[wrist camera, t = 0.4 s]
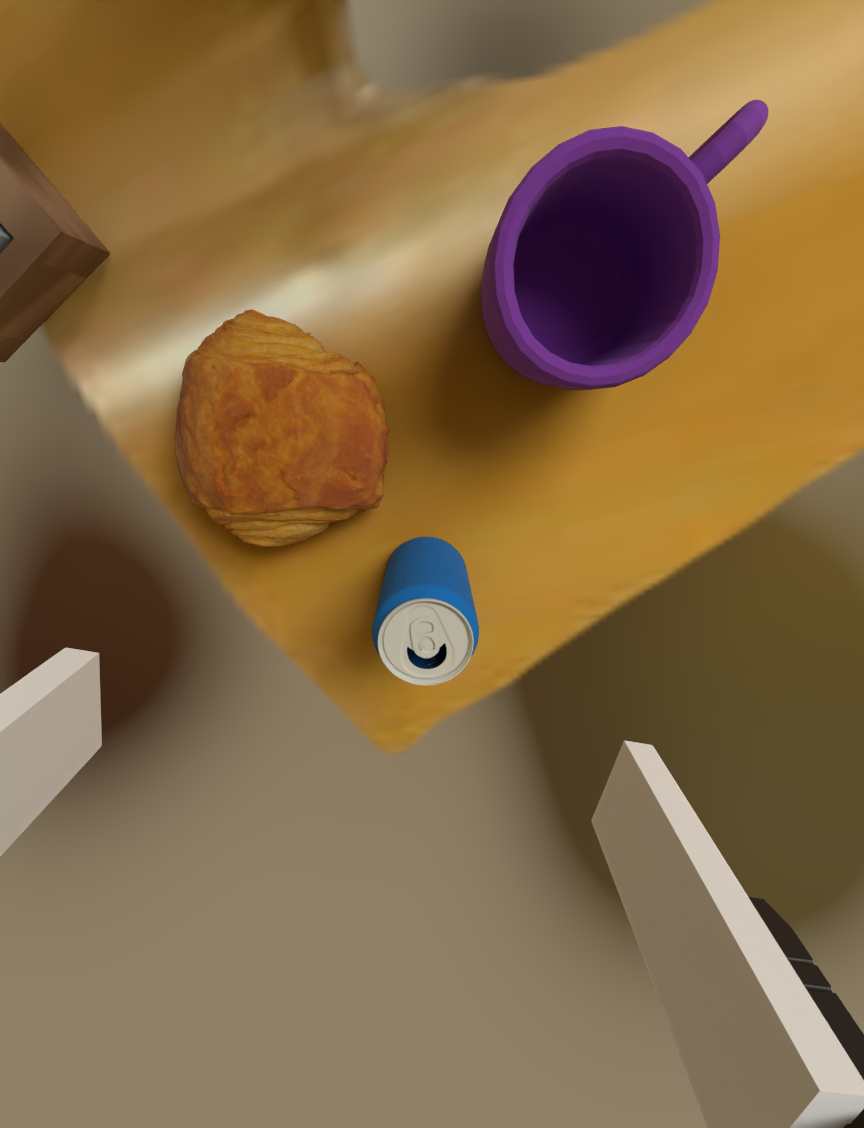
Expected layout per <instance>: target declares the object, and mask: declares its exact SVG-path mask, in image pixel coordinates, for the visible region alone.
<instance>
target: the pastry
mask: <svg viewBox="0 0 864 1128" xmlns="http://www.w3.org/2000/svg"><path fill="white" fill-rule="evenodd" d="M182 375H183V381H182V388H181V393H180V400H179V404H178V408H177V421H176V435H175V444H176V448H175V453H176V457H177V461H178V465H179V470H180V474H181V478H182V481H183V483H184V485H185V488H186V490H187V493H188V495H189V498H190V500H191V503H192V504H193V505H199V507H201V508H202V509H206V511H207V513H208V514H209V516H210V518H211V520H213V521H214V522H215V523H217V524H220V525H222V526H223V527H225V528H226V529H229V530H230V533H231V534H233V535H235V536H238V537H239V538H240V539H241V540H242V541H243V542H244V543H247V544H251V545H253V546H260V547H276V546H284V545H291V544H294V543H297V542H303V541H305V540H308V539H309V538H310V537H312V536H315V535H316V534H318V533H320V532H323V531H325V530H326V529H327V528H328V527H329V524H330V523H332V522H337V521H341V520H342V519H349V518H351V517H352V516H354V515H355V514H356V513H358V512H359V511H360V510H363V511H365V509H371V508H377V507H378V506H379V503H380V500H381V499H382V498H383V496H384V495H383V494H384V469H385V466H386V463H387V455H388V452H389V448H388V439H387V435H388V432H389V429H390V428H389V427H388V426H387V424H386V418H385V410H384V406H383V404H382V401H381V396H380V391H379V388H378V386H377V384H376V382H375V380H374V378H373V376H372V375H371V374H370V373H367V372H366V370H365V369H364V368H363V367H362V365H361V364H360V363H359V362H356V363H355V364H353V363H352V362H350V361H349V360H348V359H347V358H344V357H341V355H338V354H335V353H326V352H325V350H324V347H323V345H322V344H321V343H320V342H318V341H317V340H316V339H315V338H314V337H313V336H310V333H306V334H305V333H304V332H303V331H302V330H301V329H300V328H299V327H297V326H296V325H295V324H292V323H289V322H286V321H284V320H282V319H279V318H274V317H268V316H265V315H263V314H261V313H259V312H257V311H254V310H247V311H245V312H244V313H242V314H238V315H237V316H236V317H235V318H234V319H230V320H227V321H225V322H224V323H223V325H222V326H220V327H219V328H217V329H216V331H215V332H214V333H212V334H211V335H209V336H208V337H206V338H205V339H204V341H203V342H202V344H201V345H200V346H199V347H198V350H195V351H194V352H192V353H191V354H190V355H189V356H188V358H187V359H186V362H185V366H184V369H183V373H182Z"/></svg>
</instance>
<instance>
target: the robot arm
mask: <svg viewBox="0 0 864 1128" xmlns="http://www.w3.org/2000/svg"><path fill="white" fill-rule="evenodd" d="M101 738H102V736H101V703H100V671H99V653H95V652H89V651H84V650H77V649H72V648H64V649H63V650H61V651H60V652H59V653H57V654H56V655H54V656H53V657H52V658H50V659H49V660H47V661H46V662H45V663H43V664H42V665H40V666H39V667H37V668H36V669H35V670H33V671H32V672H30V673H29V674H28V675H26V676H25V677H23V678H22V679H21V680H19V681H18V682H16V683H15V684H14V685H12V686H11V687H10V688H8V689H7V690H5V691H4V692H2V693H1V694H0V856H1V855H2V854H3V853H4V852H5V851H6V850H7V849H8V848H9V846H11V844H12V843H13V842H14V841H15V840H16V839H17V838H18V837H19V836H20V834H21V833H22V832H23V831H24V830H25V829H26V828H27V827H28V826H29V825H30V824H31V823H32V822H33V820H34V819H35V818H36V817H37V816H38V815H39V814H40V813H41V812H42V811H43V810H44V808H45V807H46V806H47V805H48V804H49V803H50V802H51V801H52V800H53V799H54V798H55V796H56V795H57V794H58V793H59V792H60V791H61V790H62V789H63V788H64V787H65V786H66V784H67V783H68V782H69V781H70V780H71V779H72V778H73V777H74V776H75V775H76V773H77V772H78V771H79V770H80V769H81V768H82V767H83V766H84V765H85V764H86V763H87V761H88V760H89V759H90V758H91V757H92V756H93V755H94V754H95V752H97V751H98V750H99V748H100V747H101V746H102V739H101ZM592 824H593V826H594V829H595V832H596V834H597V837H598V840H599V842H600V844H601V847H602V850H603V853H604V855H605V858H606V861H607V863H608V866H609V869H610V871H611V874H612V876H613V879H614V882H615V884H616V887H617V890H618V892H619V895H620V897H621V900H622V903H623V906H624V908H625V911H626V913H627V916H628V919H629V921H630V924H631V927H632V929H633V932H634V934H635V937H636V940H637V943H638V945H639V948H640V950H641V953H642V956H643V958H644V961H645V964H646V966H647V969H648V972H649V974H650V977H651V980H652V982H653V985H654V988H655V990H656V993H657V995H658V998H659V1001H660V1003H661V1006H662V1008H663V1011H664V1014H665V1017H666V1019H667V1022H668V1024H669V1027H670V1030H671V1032H672V1035H673V1038H674V1040H675V1043H676V1046H677V1048H678V1051H679V1054H680V1056H681V1059H682V1061H683V1064H684V1067H685V1069H686V1072H687V1075H688V1077H689V1080H690V1083H691V1085H692V1088H693V1090H694V1093H695V1096H696V1098H697V1101H698V1104H699V1106H700V1109H701V1111H702V1114H703V1117H704V1120H705V1122H706V1125H707V1127H708V1128H864V1035H863V1033H862V1031H861V1030H860V1028H859V1027H858V1025H857V1024H856V1023H855V1021H854V1020H853V1018H852V1017H851V1015H850V1014H849V1012H848V1011H847V1009H846V1008H845V1006H844V1005H843V1003H842V1002H841V1000H840V999H839V997H838V996H837V994H836V993H833V992H832V991H831V986H830V984H829V983H828V981H827V980H826V978H825V977H824V975H823V974H822V972H821V971H820V969H819V968H818V966H816V965H814V964H813V961H812V960H813V959H812V957H811V956H810V954H809V953H808V951H807V950H806V949H805V947H804V946H803V944H802V943H801V941H800V940H799V938H798V937H797V935H796V934H795V932H794V931H793V929H792V928H791V927H790V926H789V925H788V924H787V923H786V922H785V920H783V918H782V917H781V916H780V915H779V914H778V913H777V912H776V911H775V910H774V909H773V908H772V907H771V906H770V905H769V904H768V903H767V902H766V901H765V900H764V899H758V898H752V897H748V896H747V894H746V893H745V891H744V890H743V888H742V886H741V885H740V883H739V882H738V880H737V879H736V877H735V875H734V874H733V872H732V871H731V869H730V867H729V866H728V864H727V863H726V861H725V860H724V858H723V856H722V855H721V853H720V852H719V850H718V849H717V847H716V845H715V844H714V842H713V841H712V839H711V837H710V836H709V834H708V833H707V831H706V830H705V828H704V826H703V825H702V823H701V822H700V820H699V818H698V817H697V815H696V814H695V812H694V810H693V809H692V807H691V806H690V804H689V803H688V801H687V799H686V798H685V796H684V795H683V793H682V791H681V790H680V788H679V787H678V785H677V783H676V782H675V780H674V779H673V777H672V776H671V774H670V772H669V771H668V769H667V768H666V766H665V764H664V763H663V762H662V760H661V758H660V756H659V755H658V753H657V752H656V750H655V749H654V747H653V745H648V744H642V743H635V742H630V741H624V743H623V745H622V747H621V750H620V752H619V755H618V757H617V760H616V762H615V764H614V767H613V769H612V772H611V774H610V777H609V779H608V782H607V784H606V786H605V789H604V792H603V794H602V796H601V799H600V801H599V803H598V806H597V809H596V811H595V813H594V816H593V818H592Z"/></svg>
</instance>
